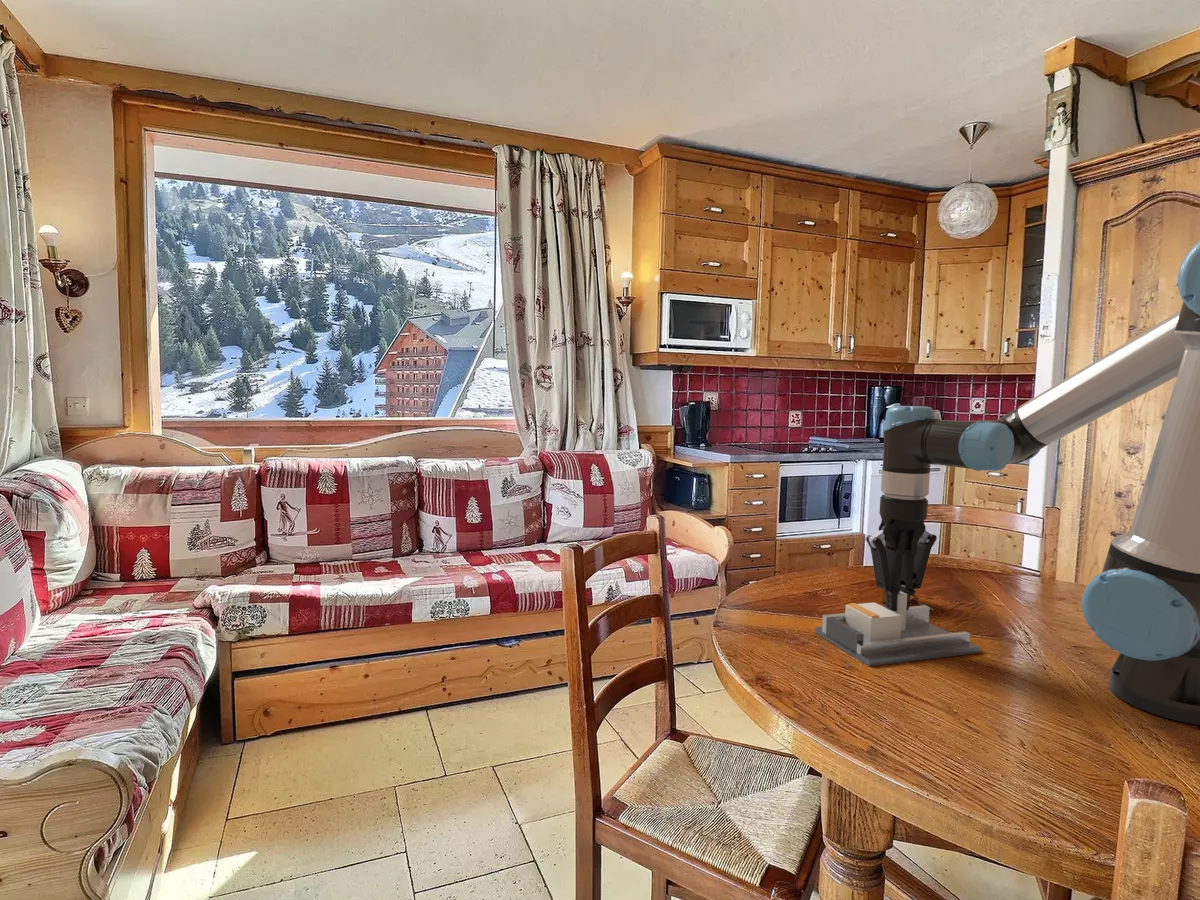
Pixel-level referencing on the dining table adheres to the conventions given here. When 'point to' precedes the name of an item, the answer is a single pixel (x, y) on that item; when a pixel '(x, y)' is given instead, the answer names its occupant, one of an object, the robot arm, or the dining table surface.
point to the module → (873, 621)
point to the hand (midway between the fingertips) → (896, 627)
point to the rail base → (898, 640)
